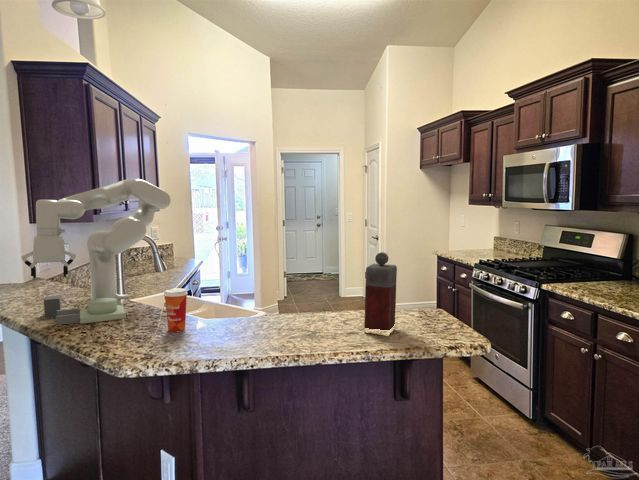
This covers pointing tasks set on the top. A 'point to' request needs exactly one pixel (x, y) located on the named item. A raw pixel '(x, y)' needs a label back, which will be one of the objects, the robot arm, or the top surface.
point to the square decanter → (380, 294)
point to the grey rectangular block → (51, 306)
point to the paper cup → (176, 309)
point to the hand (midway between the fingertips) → (49, 277)
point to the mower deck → (102, 317)
